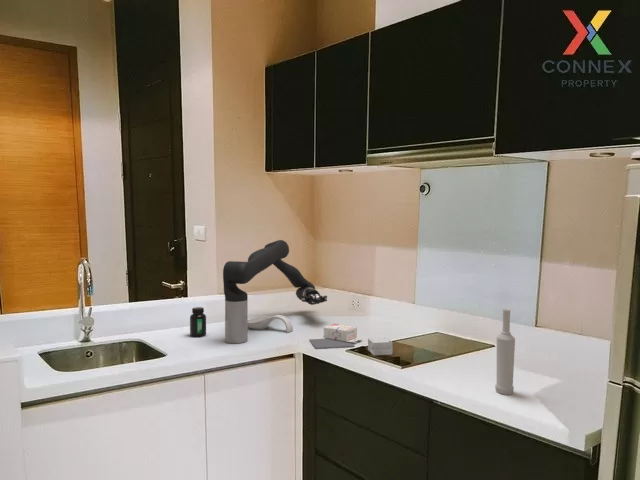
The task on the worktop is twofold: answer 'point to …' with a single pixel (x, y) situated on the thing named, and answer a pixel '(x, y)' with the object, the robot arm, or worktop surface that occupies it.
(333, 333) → the ink cartridge box
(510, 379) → the bottle
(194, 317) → the supplement bottle
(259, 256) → the robot arm
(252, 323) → the grey arched piece
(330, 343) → the mat
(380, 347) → the small box
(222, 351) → the worktop surface
